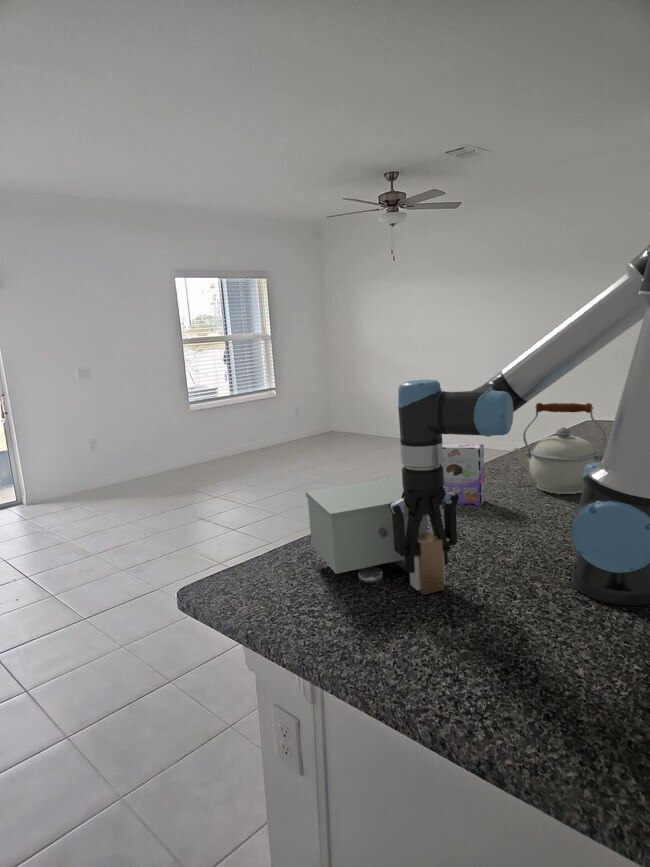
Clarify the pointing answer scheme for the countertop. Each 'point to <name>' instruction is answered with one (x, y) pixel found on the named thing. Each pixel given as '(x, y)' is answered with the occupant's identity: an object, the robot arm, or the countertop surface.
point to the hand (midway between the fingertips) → (427, 583)
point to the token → (370, 574)
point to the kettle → (560, 454)
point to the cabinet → (356, 524)
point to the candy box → (464, 472)
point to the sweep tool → (429, 563)
